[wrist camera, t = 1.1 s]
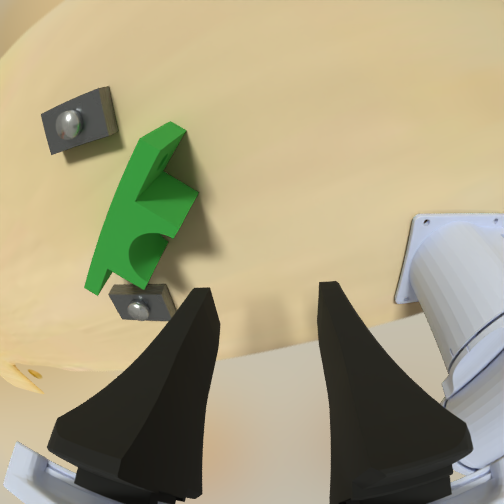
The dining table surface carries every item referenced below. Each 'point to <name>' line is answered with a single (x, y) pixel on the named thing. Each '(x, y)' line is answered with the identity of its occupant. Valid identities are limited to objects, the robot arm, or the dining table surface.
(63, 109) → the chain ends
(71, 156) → the dining table surface
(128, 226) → the pipe clamp
